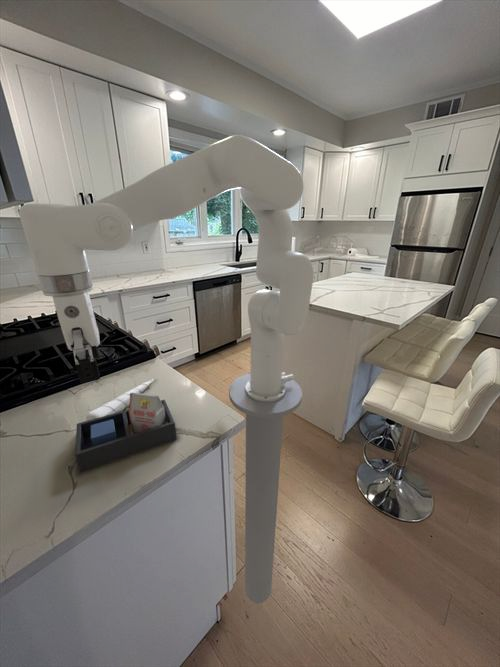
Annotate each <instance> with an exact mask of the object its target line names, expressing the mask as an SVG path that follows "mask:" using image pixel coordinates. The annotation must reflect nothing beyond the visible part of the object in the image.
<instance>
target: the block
mask: <svg viewBox="0 0 500 667" xmlns="http://www.w3.org/2000/svg"><path fill="white" fill-rule="evenodd" d="M116 439H117V434H116V429H115V425H114V421H113V419H112V420H108V421H105V422H101V423H98V424H94V425H91V441H92V445H93V447H94V446H97V445H100V444H103V443H107V442H110V441H113V440H116Z"/></svg>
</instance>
